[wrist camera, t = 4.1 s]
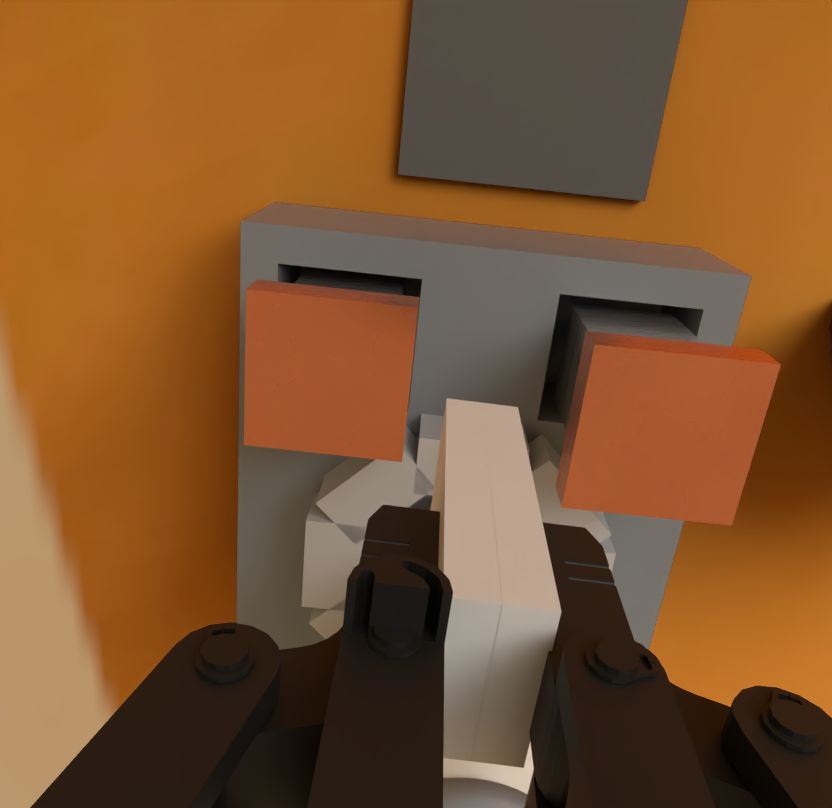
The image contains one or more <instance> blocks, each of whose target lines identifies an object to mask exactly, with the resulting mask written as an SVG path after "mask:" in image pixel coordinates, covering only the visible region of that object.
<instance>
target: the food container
mask: <svg viewBox="0 0 832 808" xmlns="http://www.w3.org/2000/svg"><path fill="white" fill-rule="evenodd" d="M830 343H831V359H832V319H831V323H830Z"/></svg>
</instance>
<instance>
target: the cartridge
mask: <svg viewBox="0 0 832 808" xmlns="http://www.w3.org/2000/svg"><path fill="white" fill-rule="evenodd" d="M431 503H432V497H429V498H427V499H425V500H422V501H420V502H419V503H417V504H416V505H414V506H413V507H412V508H415V509H423V510H430V509H431ZM533 770H534V767H533V759H532V750H531V742H530V744H529V748H528V752H527V757H526V761H525V765H524V768H520V767H512V766H504V765H496V764H488V763H480V762H472V761H464V760H456V759H448V758H443V808H524V806H525V802H526V798H527V794H528V790H529V786H530V782H531V778H532V774H533Z"/></svg>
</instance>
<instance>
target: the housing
mask: <svg viewBox="0 0 832 808" xmlns="http://www.w3.org/2000/svg"><path fill="white" fill-rule="evenodd" d="M308 267H315V268H324V269H333V270H343V271H352V272H361V273H370V274H380V275H389V276H398V277H406V281H405V291H404V295H405V296H414V297H420V299H419V308H418V318H417V327H416V337H415V346H414V356H413V365H412V375H411V384H410V394H409V404H408V413H407V423H406V432H405V442H404V450H403V459H402V462H396V461H387V460H378V459H368V458H359V457H350V456H340V455H331V454H322V453H312V452H303V451H294V450H284V449H275V448H266V447H256V446H247V445H244V402H245V328H246V289H247V288H248V287H249V286H250V285H251V284H252V283H254V282H255V281H256V280H266V281H275V282H284V283H295V282H296V281H297V280H298V278H299V277H300V276H301V275H302V274H303V273H304V272H305V270H306V269H307V268H308ZM751 277H752V276H750V275H748V274H746V273H745V272H743V271H741V270H739V269H737V268H735V267H734V266H732V265H730V264H728V263H726V262H724V261H722V260H721V259H719V258H717V257H715V256H713V255H711V254H710V253H708V252H706V251H704V250H702V249H700V248H694V247H684V246H675V245H666V244H657V243H647V242H638V241H629V240H620V239H611V238H601V237H592V236H583V235H574V234H564V233H555V232H546V231H537V230H527V229H518V228H509V227H500V226H491V225H481V224H472V223H463V222H454V221H444V220H435V219H426V218H417V217H408V216H398V215H389V214H380V213H371V212H361V211H352V210H343V209H334V208H325V207H315V206H306V205H297V204H288V203H278V202H275V203H273V204H271V205H269V206H267V207H266V208H264V209H262V210H260V211H258V212H256V213H255V214H253V215H251V216H249V217H247V218H245V219H243V220H242V221H241V242H240V339H239V435H238V531H237V624H244V625H250V626H253V627H255V628H257V629H259V630H261V631H263V632H265V633H267V634H268V635H269V636H270V637H271V638H272V639H273V640H274V642H275V643H276V644H277V645H278V648H279V650H281V649H289V648H297V647H303V646H307V645H312V644H316V643H318V642H320V641H323V640H325V639H328V638H329V637H330V636H332V635H333V634H335V633H336V632H338V631H339V630H340V628H341V627H342V626H343V620H344V609H345V599H346V589H347V579H348V577H349V575H350V574H351V572H352V570H353V568H354V567H355V566H357V565H358V564H359V562H360V557H361V552H362V547H363V542H364V537H365V532H366V527H367V522H368V519H369V518H370V517H371V516H372V515H373V514H374V513H375V512H376V511H377V510H378V509H379V508H380V507H381V506H382V505H391V506H399V507H407V508H412V507H413V506H414V505H416V504H417V503H419V502H420V501H422V500H425V499H427V498H429V497H432V496H433V489H434V482H435V475H436V468H437V461H438V454H439V447H440V440H441V433H442V426H443V420H444V413H445V406H446V399H447V398H449V399H457V400H465V401H473V402H481V403H489V404H497V405H505V406H513V407H518V410H519V415H520V419H521V424H522V429H523V433H524V438H525V443H526V447H527V452H528V457H529V461H530V466H531V471H532V476H533V480H534V485H535V490H536V494H537V499H538V504H539V508H540V513H541V518H542V522H544V523H552V524H560V525H568V526H576V527H584V528H586V529H587V530H588V531H589V532H590V533H591V534H592V535H593V536H594V537H595V539H596V540H597V541H598V542H599V543H600V544H601V545H602V546H603V549H604V552H605V554H606V557H607V560H608V563H609V569H611V572H612V575H613V578H614V581H615V583H614V586H616V587H617V590H618V593H619V596H620V599H621V602H622V605H623V608H624V611H625V614H626V617H627V620H628V623H629V626H630V629H631V632H632V635H633V638H634V641H636V642H638V643H640V644H642V645H643V646H644V647H645V648H647V649H648V650H649V646H650V643H651V639H652V636H653V632H654V628H655V625H656V621H657V617H658V614H659V610H660V607H661V603H662V599H663V596H664V592H665V588H666V585H667V581H668V578H669V574H670V570H671V567H672V563H673V559H674V556H675V552H676V549H677V545H678V541H679V538H680V534H681V530H682V527H683V523H684V521H682V520H673V519H663V518H654V517H645V516H635V515H626V514H617V513H607V512H598V511H589V510H579V509H570V508H562V507H561V504H560V500H559V497H558V493H557V490H556V487H555V486H556V481H557V476H558V471H559V465H560V460H561V455H562V450H563V445H564V440H565V435H566V430H565V428H564V425H563V422H562V420H561V417H560V414H559V412H558V409H557V406H556V404H555V401H554V392H555V387H556V382H557V376H558V371H559V365H560V360H561V354H562V349H563V344H564V338H565V333H566V327H567V322H568V317H569V311H570V306H571V304H579V305H588V306H598V307H607V308H616V309H625V310H635V311H644V312H653V313H662V314H672V315H673V316H675V317H676V318H677V319H678V320H679V321H680V322H681V323H682V324H683V325H684V326H686V327H687V328H688V329H689V330H690V331H691V332H692V333H693V334H694V335H696V336H697V337H698V338H699V339H700V340H701V341H702V342H703V343H705V344H714V345H723V346H733V342H734V338H735V335H736V331H737V327H738V324H739V320H740V317H741V313H742V309H743V306H744V302H745V298H746V295H747V291H748V288H749V284H750V280H751Z"/></svg>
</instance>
